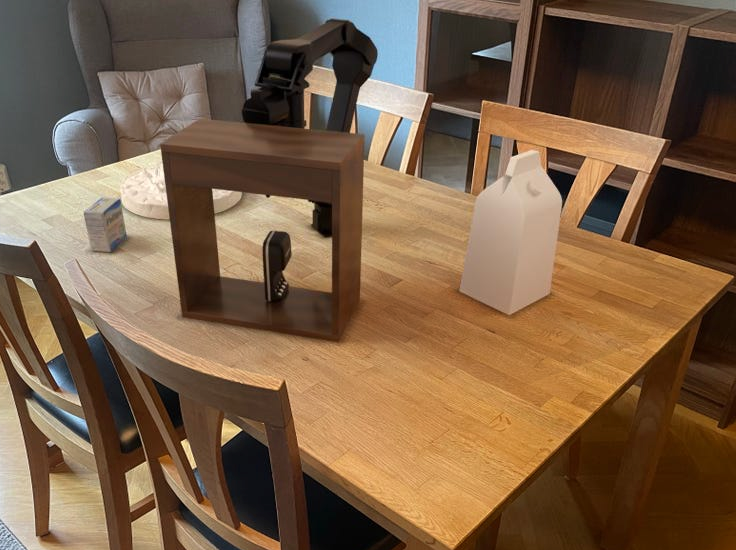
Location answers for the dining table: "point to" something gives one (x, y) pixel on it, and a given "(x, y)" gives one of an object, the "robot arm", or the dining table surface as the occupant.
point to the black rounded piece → (276, 264)
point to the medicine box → (105, 224)
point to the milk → (513, 237)
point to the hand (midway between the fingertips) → (291, 199)
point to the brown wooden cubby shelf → (275, 178)
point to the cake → (161, 194)
